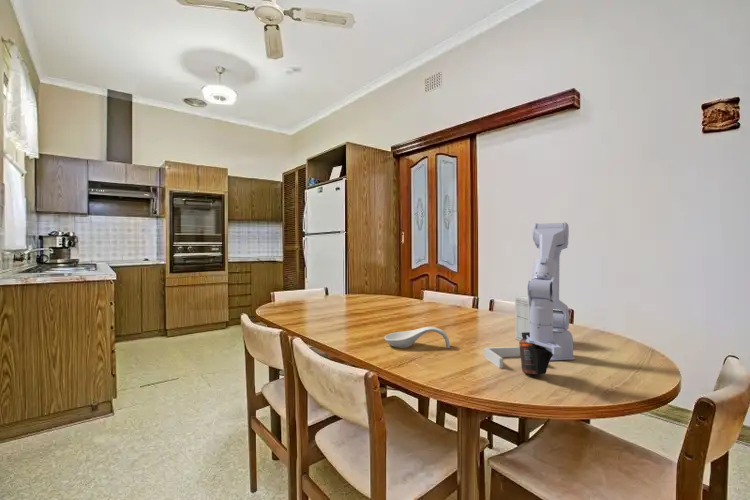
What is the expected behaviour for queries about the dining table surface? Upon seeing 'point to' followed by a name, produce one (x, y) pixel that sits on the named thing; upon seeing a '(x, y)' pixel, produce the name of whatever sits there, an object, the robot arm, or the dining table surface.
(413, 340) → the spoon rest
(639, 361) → the dining table surface
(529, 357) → the supplement bottle
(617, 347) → the dining table surface
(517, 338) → the supplement box
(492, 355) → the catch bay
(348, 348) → the dining table surface
